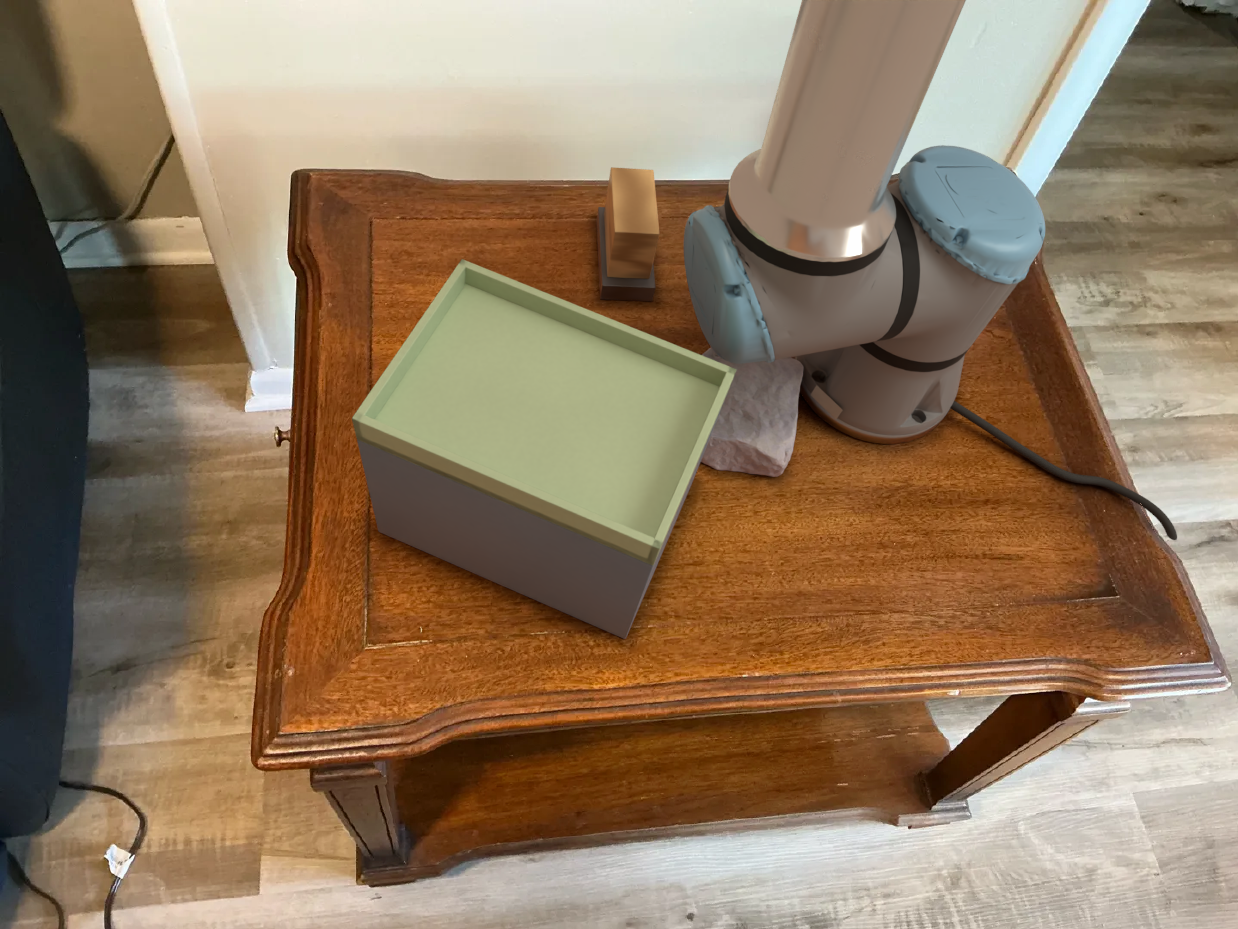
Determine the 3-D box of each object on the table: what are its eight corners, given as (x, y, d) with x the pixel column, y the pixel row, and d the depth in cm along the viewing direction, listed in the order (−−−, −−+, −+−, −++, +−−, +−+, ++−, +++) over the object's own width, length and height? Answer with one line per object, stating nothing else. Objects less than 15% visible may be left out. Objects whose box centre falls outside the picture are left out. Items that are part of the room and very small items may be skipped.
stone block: (675, 471, 81) (790, 485, 79) (674, 439, 77) (795, 453, 76) (694, 368, 88) (801, 378, 86) (694, 333, 84) (806, 343, 82)
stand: (691, 483, 79) (728, 390, 67) (625, 639, 71) (653, 566, 59) (466, 389, 81) (462, 282, 69) (378, 531, 73) (356, 439, 61)
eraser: (645, 223, 93) (658, 162, 86) (652, 301, 88) (666, 242, 81) (596, 221, 93) (604, 158, 86) (600, 299, 88) (609, 239, 81)
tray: (728, 390, 67) (737, 369, 65) (653, 566, 59) (659, 549, 57) (462, 282, 69) (461, 258, 66) (356, 439, 61) (351, 418, 59)
